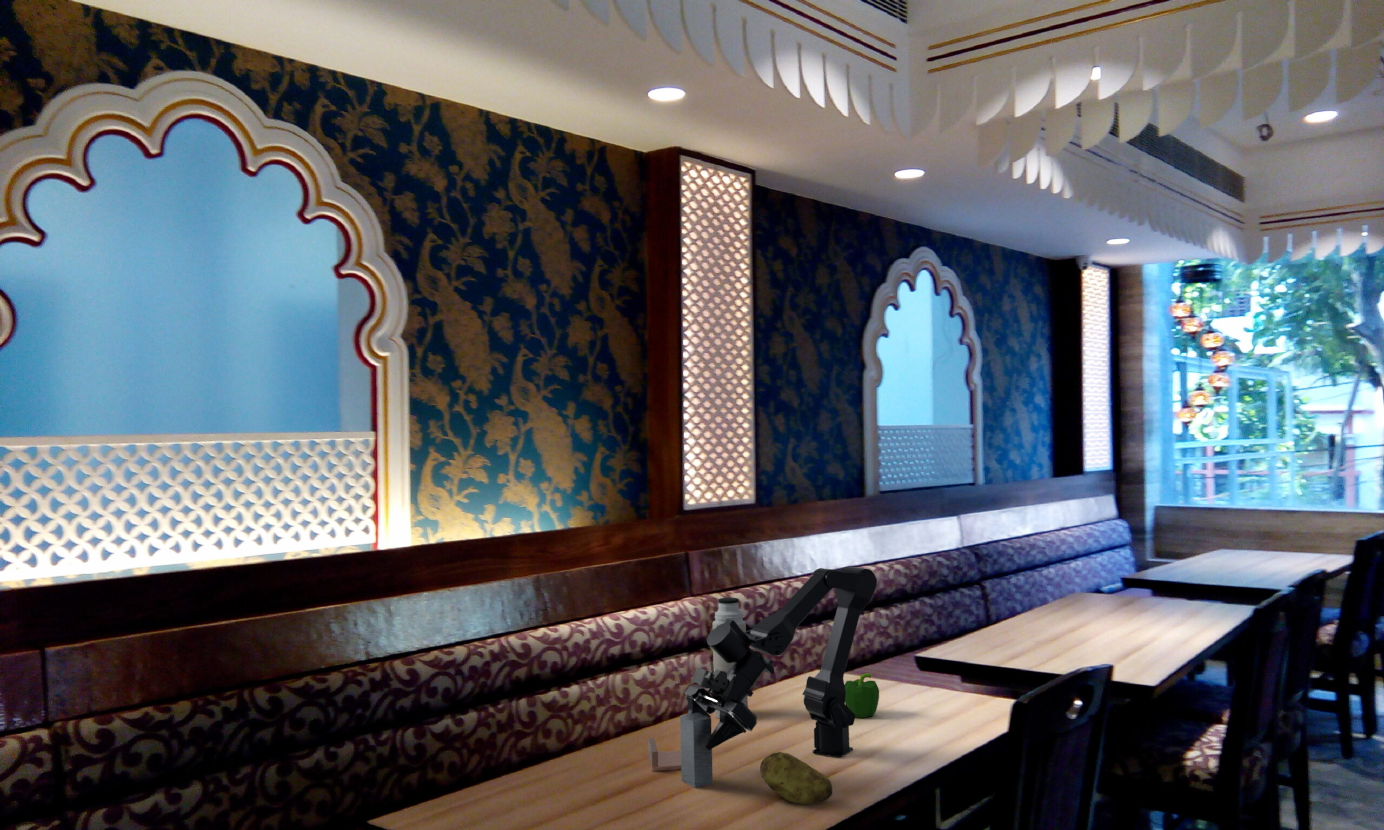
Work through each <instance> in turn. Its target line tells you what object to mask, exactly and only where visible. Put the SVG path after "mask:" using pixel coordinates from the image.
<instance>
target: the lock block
mask: <svg viewBox="0 0 1384 830" xmlns="http://www.w3.org/2000/svg"><path fill="white" fill-rule="evenodd" d="M679 724H680V725H679V726H680V750H681V769H680V770H681V781H682V782H683V783H685V784H687V785H688V786H690V785H691V786H690V787H693V788H695V789H696V788H700V787H705V786H709V785H713V784H714V783H713V782H714V780H713V779H714V778H713V776H714V775H713V774H714V773H713V748H712V749H711V750H708V749H707V748H706V747H705V745H706V743H707V741H708V739H709V738H710V736H711V734H712V717H711V718H710V717H707V716H705V715H702V714H700V713H693V714H688V713H687V714H682V715H680V716H679Z"/></svg>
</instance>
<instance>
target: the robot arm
mask: <svg viewBox="0 0 1384 830" xmlns="http://www.w3.org/2000/svg"><path fill="white" fill-rule="evenodd" d="M877 586H878V578H877V577H876V574H875V572H874V571H873V570H871V569H870V568H863V567H856V566H849V565H847V566H845V567H842V568H841V569H830V568H824V567H820V568H817V569H815V570H814V571H813V573H812V574H811V577H810V578H809V579H807V581H806V582H805V583H804V584H803V585H802V586H801V587H800V588H799V589H798V590H797V591H796V592H795V594H793V596H791V598H790V599H789V600H788V601H786V603H785V604H784V605H783V606H782V607H781V608H780V609H779V610H778V611H777V612H775V613H774V614H770V615H769V616H766V617H765V618H763V619H761V620H760V621H759V622H758V623H757V624H755V625H754V626H753V627H752V629H750V630H746V632H743V631H742V630H741V629H740V628H739V627H738V625H737V623H736V622H735V621H734V620H731V619H727V620H726V622H725V623H723V624H721V625H719V626H717V627H716V628H715V629H713V628H712V630H710V632H709V634H708V636H707V637H706V643H707V645H708V646H709V647H710V648H711V649H712V651H713V650H714V651H715V652H716V653H717V654H718V655H719V656H720V657H721V658H722V659H723V660H724V661H725V662H726V663H732V662H734V664H733V665H732V666H731V668H730V669H729V670H728V672H726V671H721V670H718V669H716V670H715V671H714V670H713V672H711V671H709V670H706V669H704V668H701V667H696V668H695V672H694V675H693V677H692V680H691V683H692V685H690V686H688V688H687V689H686V690H685V691H684V695H685V696H686V697H685V700H686V702H687V705H688V712H687V714H693V713H700V714H702V715H705V716H707V717H710V718H711V719H712V716H711V715H712V714H713V713H715V710H718V711H720V719H719V721H718V723H717V725H716V726H715V728H714V730H713V731H712V732H711V736H710V738H709V739H708V741H707V743H706V745H705V747H706V748H707V749H708V750H711V749H712V750H713V749H714V748H716V747H718V746H720V745H721V744H723V743H724V742H727V741H729V740H730V739H733V738H735V737H736V736H739V735H741V734H746V733H747V731H749V732H753V730H754V728H755V727H756V725H757V724H758V719H757V718H758V717H757V715H756V714H755V713H754V712H753V711H752V710H751V709H750V708H749V706H748V707H747V706H746V705H745V704H744V703H742V701H743V700H744V698H745V697H746V696H748V697H749V698H751V697H753V695H754V691H752V688H753V687H754V686H755V684H756V683H757V681H758V680H759V678H760V677H761V676H762V674H763V673H767V674H770V675H774V674H775V667H774V660H773V659H769V658H765V657H764V655H762V653H763V654H766V655H770V656H781V655H782V654H784V653H785V651H786V650H787V648H788V647H789V646H790V644H792V643H791V642H792V641H793V640H794V637H795V634H796V633H795V632H796V629H797V628H798V627H799V625H800V624H801V623H802V622H803V621H804V619H806V618H807V616H809V614H810V613H811V612H812V611H813V610H814V609H815V608H816V606H818V605H819V603H820V602H821V601H822V600H823V599H824V598H825V597H826V596H827V595H828V593H829V592H831V590H833V589H835V595H836V601H837V609H836V611H835V612H836V613H835V616H834V618H833V623H832V627H831V630H830V634H829V639H828V642H827V645H826V649H825V652H824V656H823V660H822V664H821V666H820V667H821V668H820V670H819V671H818V673H816V675H815V676H811V675H810V676H808V677H807V678H806V684H805V688H804V691H803V692H802V696H803V697H804V698H803V705H804V706H805V709H806V710H807V712H808V713H809V716H810V720H812V721H815V727H814V729H813V748H814V749H813V750H812V754H814V755H815V754H816V755H822V756H827V757H833V758H842V757H844V756H845V755H847V754H849V753H850V752H852V751H854V748H853V747H851V746H850V726H851V727H852V726H854V723H855V720H856V719H855V718H856V717H855V714H854V713H853V712H852V711H851V710H850V709H849V708H848V707H847V706H846V704H845V698H846V690H845V681H844V675H845V672H846V668H847V666H848V661H849V659H850V658H849V656H850V654H851V651H852V650H851V649H852V646H853V642H854V638H855V634H856V631H857V626H858V624H859V620H860V616H861V613H862V611H863V610H864V609H865V608H866V607H867V606H868V604H869V603H870V602H871V601H872V599H873V596H874V593H875V592H876V589H877ZM751 647H752V648H753V649H751ZM693 684H694V685H693ZM717 704H718V705H717Z"/></svg>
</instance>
